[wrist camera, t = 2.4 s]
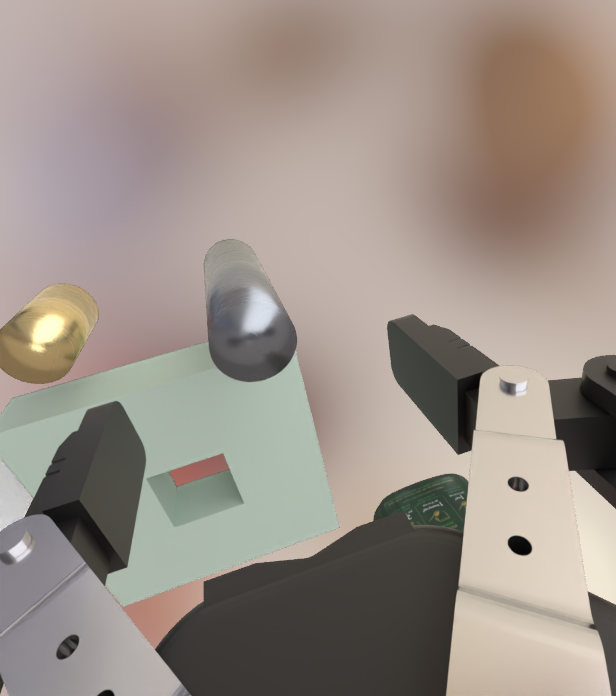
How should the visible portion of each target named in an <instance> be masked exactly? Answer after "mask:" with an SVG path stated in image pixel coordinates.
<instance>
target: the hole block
mask: <svg viewBox="0 0 616 696" xmlns="http://www.w3.org/2000/svg"><path fill="white" fill-rule="evenodd" d="M114 401H118V402H120V403H121V404H122V406H123V407H124V409H125V411H126V413H127V415H128V417H129V419H130V420H131V422H132V424H133V426H134V428H135V430H136V432H137V433H138V435H139V437H140V439H141V441H142V443H143V446H144V449H145V453H146V466H145V472H144V477H143V483H142V489H141V494H140V500H139V505H138V511H137V517H136V522H135V528H134V533H133V539H132V545H131V550H130V556H129V561H128V567H127V568H124V569H121V570H119V571H116V572H113V573H110V574H108V575H107V579H106V584H105V586H106V587H107V588H108V589H109V591H110V592H111V593H112V594H113V596H115V598H116V599H117V600H118V602H119V603H120V604H121V605H122V606H123V607H124V606H127V605H129V604H132V603H135V602H137V601H140V600H143V599H146V598H149V597H151V596H154V595H157V594H160V593H162V592H165V591H168V590H171V589H173V588H176V587H179V586H181V585H184V584H187V583H190V582H192V581H195V580H198V579H201V578H203V577H206V576H209V575H211V574H214V573H217V572H220V571H223V570H225V569H228V568H231V567H234V566H236V565H239V564H242V563H244V562H247V561H250V560H252V559H255V558H258V557H261V556H263V555H266V554H269V553H272V552H275V551H277V550H280V549H283V548H286V547H288V546H291V545H294V544H296V543H299V542H302V541H304V540H307V539H310V538H313V537H316V536H318V535H321V534H324V533H327V532H329V531H332V530H335V529H337V528H339V523H338V519H337V515H336V511H335V507H334V503H333V499H332V495H331V491H330V487H329V483H328V479H327V475H326V471H325V467H324V463H323V459H322V455H321V451H320V447H319V443H318V439H317V435H316V431H315V426H314V423H313V419H312V414H311V411H310V406H309V403H308V398H307V394H306V390H305V386H304V383H303V378H302V374H301V370H300V367H299V362H298V358H297V354H296V350H295V353H294V355H293V358H292V359H291V361H290V362H289V364H288V365H287V366H286V367H285V368H284V369H283V370H282V371H281V372H280V373H278V374H277V375H275V376H273V377H271V378H269V379H266V380H262V381H257V382H243V381H238V380H235V379H232V378H230V377H228V376H226V375H225V374H223V373H222V372H221V371H220V370H219V369H218V368H217V367H216V365H215V364H214V362H213V360H212V358H211V356H210V352H209V342H208V341H207V342H203V343H200V344H196V345H193V346H189V347H186V348H183V349H179V350H176V351H172V352H169V353H166V354H162V355H159V356H155V357H152V358H149V359H145V360H141V361H138V362H135V363H131V364H128V365H124V366H121V367H117V368H114V369H110V370H107V371H104V372H100V373H97V374H94V375H90V376H86V377H83V378H80V379H76V380H73V381H69V382H66V383H62V384H59V385H55V386H52V387H49V388H46V389H42V390H39V391H35V392H31V393H28V394H25V395H22V396H18V397H14V398H12V399H11V401H10V402H9V403H8V405H7V406H6V408H5V409H4V410H3V412H2V413H1V414H0V458H1V460H2V461H3V462H4V463H5V464H6V466H7V467H8V468H9V469H10V470H11V472H12V473H13V474H14V475H15V477H16V478H17V479H18V480H19V481H20V483H21V484H22V485H23V486H24V487H25V489H26V490H27V491H28V492H29V494H30V495H31V496H32V497H33V498H34V496H35V494H36V492H37V490H38V488H39V486H40V484H41V482H42V480H43V478H44V477H46V475H45V474H46V472H47V470H48V468H49V466H50V465H51V464H52V463H51V461H52V459H53V457H54V455H55V453H56V451H57V449H58V447H59V446H60V445H61V444H62V443H63V442H64V441H65V440H66V438H67V437H68V436H69V435H70V434H71V433H72V432H74V431H78V429H79V426H80V424H81V422H82V420H83V417H84V415H85V413H86V411H87V410H88V409H90V408H93V407H97V406H100V405H103V404H107V403H110V402H114ZM222 453H223V455H224V457H225V459H226V462H227V464H228V466H229V469H228V470H225V471H222V472H219V473H216V474H213V475H210V476H207V477H205V478H201V479H198V480H195V481H192V482H190V483H186V484H183V485H180V486H176V484H175V482H174V480H173V478H172V477H171V475H170V473H169V471H171V470H174V469H177V468H180V467H183V466H186V465H189V464H192V463H195V462H198V461H201V460H204V459H207V458H210V457H213V456H216V455H219V454H222Z"/></svg>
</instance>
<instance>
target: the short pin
mask: <svg viewBox="0 0 616 696" xmlns="http://www.w3.org/2000/svg"><path fill="white" fill-rule="evenodd" d="M98 317H99V310H98V306H97V304H96V302H95V300H94V299H93V298H92V296H91V295H89V293H87V292H86V291H85V290H83V289H81V288H79V287H77V286H75V285H70V284H62V283H61V284H53V285H50V286H48V287H46V288H44V289H43V290H42V291H41V292H40V293H39V294H38V295H36V297H34V298H33V299H32V300H31V301H30V302H29V303H28V304H27V305H26V306H25V307H24V308H23V309H22V310H21V311H19V312H18V313H17V314H16V315H15V316H14V317H13V318H12V319H11V320H10V321H9V322H8V323H7V324H6V325H5V326H3V328H1V329H0V368H1V369H2V370H3V371H5V372H6V373H7V374H8V375H10V376H12V377H13V378H15V379H18V380H20V381H24V382H27V383H35V384H44V383H49V382H53V381H56V380H59V379H60V378H62V377H64V376H65V375H66V374H67V373H68V372H69V371H70V369H71V367H72V366H73V364H74V362H75V360H76V358H77V357H78V355H79V353H80V352H81V350H82V348H83V346H84V344H85V342H86V341H87V339H88V337H89V336H90V334H91V332H92V330H93V329H94V327H95V325H96V323H97V321H98Z"/></svg>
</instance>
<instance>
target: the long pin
mask: <svg viewBox="0 0 616 696" xmlns="http://www.w3.org/2000/svg"><path fill="white" fill-rule="evenodd" d="M204 273H205V290H206V308H207V325H208V342H209V352H210V356H211V358H212V360H213V362H214V364H215V365H216V367H217V368H218V369H219V370H220V371H221V372H222V373H223V374H225V375H226V376H228V377H230V378H232V379H235V380H238V381H243V382H257V381H262V380H266V379H269V378H271V377H273V376H275V375H277V374H278V373H280V372H281V371H282V370H283V369H284V368H285V367H286V366H287V365H288V364H289V362H290V361H291V359H292V358H293V355H294V353H295V350H296V345H297V336H296V331H295V328H294V325H293V323H292V322H291V320H290V318H289V316H288V314H287V312H286V310H285V308H284V307H283V305H282V303H281V301H280V299H279V297H278V296H277V293H276V292H275V290H274V288H273V286H272V284H271V282H270V280H269V279H268V277H267V275H266V273H265V271H264V269H263V268H262V266H261V264H260V262H259V260H258V258H257V256H256V254H255V253H254V251H253V250H252V249H251V248H250V247H249V246H248V245H247V244H245V243H244V242H242V241H239V240H234V239H227V240H223V241H220V242H218V243H216V244H215V245H213V246H212V247H211V248H210V249H209V251H208V252H207V254H206V257H205V260H204Z"/></svg>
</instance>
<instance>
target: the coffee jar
mask: <svg viewBox="0 0 616 696" xmlns="http://www.w3.org/2000/svg"><path fill="white" fill-rule="evenodd" d="M468 484H469V482H468V481H467V480H466V479H465V478H464V477H462V476H460V475H457V474H444V475H440V476H436V477H432V478H430V479H426V480H423V481H420V482H417V483H415V484H412V485H410V486H407V487H405V488H402V489H400V490H398V491H396V492H394V493H392V494H390V495H389V496H387V497H386V498H384V499H383V500H382V502H381V503H380V505H379V506H378V508H377V510H376V512H375V515H374V521H375V520H378V519H381V518H384V517H387V516H390V515H392V514H395V513H398V512H401V511H404V512H405V514H406V516H407V517H408V519H409V521H410V523H411V525H412V526H413V525H434V526H441V527H447V528H451V529H455V530H459V531H462V532H464V526H465V515H466V505H467V495H468Z"/></svg>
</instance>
